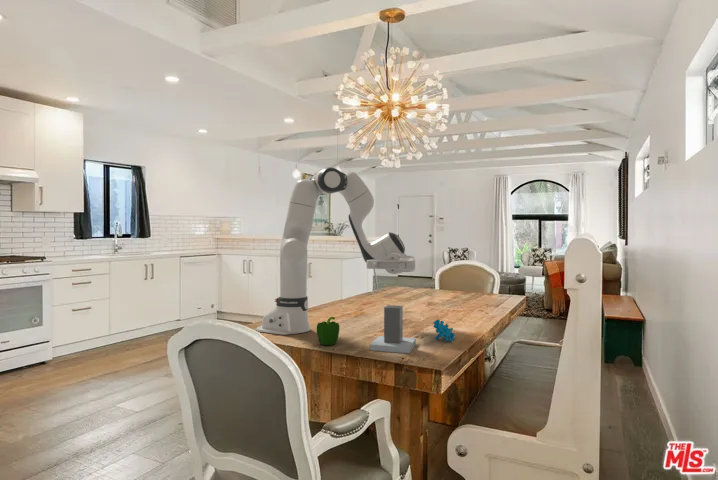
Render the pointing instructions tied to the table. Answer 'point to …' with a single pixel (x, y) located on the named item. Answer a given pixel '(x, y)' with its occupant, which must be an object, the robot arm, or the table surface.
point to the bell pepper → (328, 332)
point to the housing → (393, 324)
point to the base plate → (393, 345)
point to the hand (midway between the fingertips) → (387, 265)
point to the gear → (443, 331)
